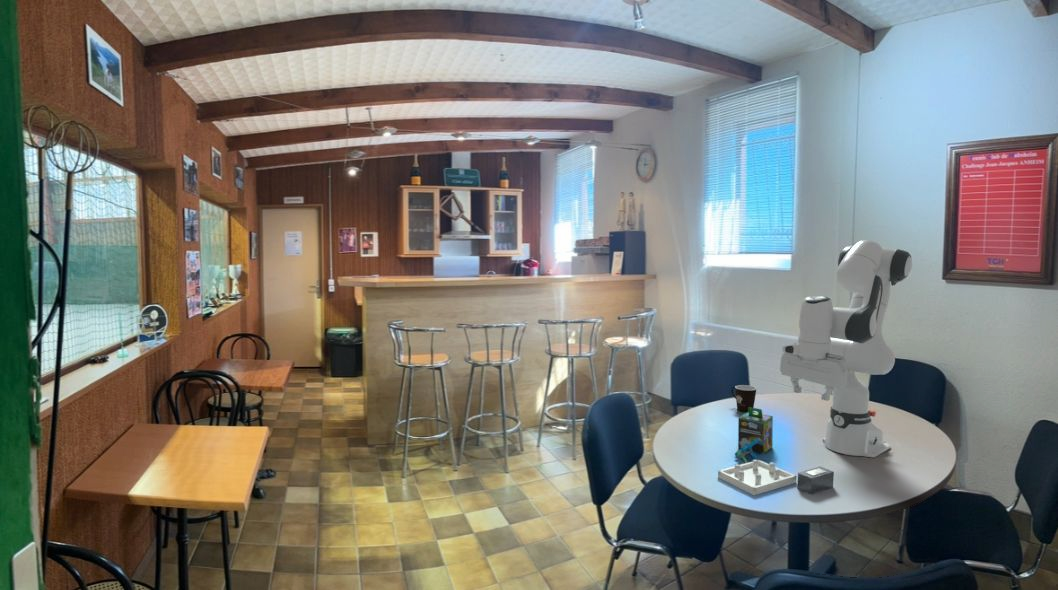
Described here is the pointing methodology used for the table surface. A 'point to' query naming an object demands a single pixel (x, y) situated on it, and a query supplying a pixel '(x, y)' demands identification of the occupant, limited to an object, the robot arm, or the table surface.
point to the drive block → (815, 480)
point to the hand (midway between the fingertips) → (811, 396)
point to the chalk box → (755, 430)
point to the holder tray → (751, 478)
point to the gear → (748, 448)
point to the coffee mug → (744, 397)
